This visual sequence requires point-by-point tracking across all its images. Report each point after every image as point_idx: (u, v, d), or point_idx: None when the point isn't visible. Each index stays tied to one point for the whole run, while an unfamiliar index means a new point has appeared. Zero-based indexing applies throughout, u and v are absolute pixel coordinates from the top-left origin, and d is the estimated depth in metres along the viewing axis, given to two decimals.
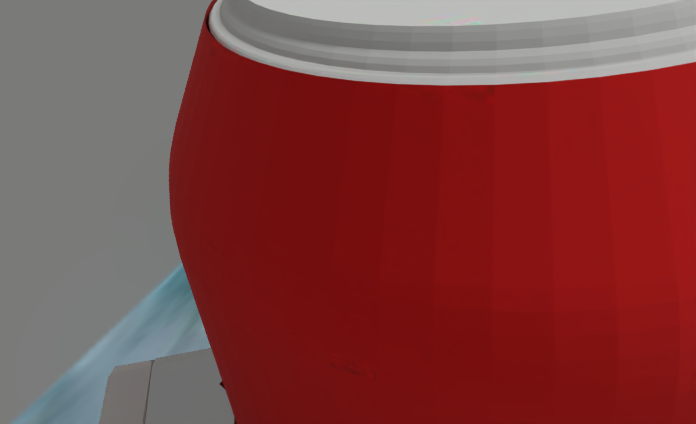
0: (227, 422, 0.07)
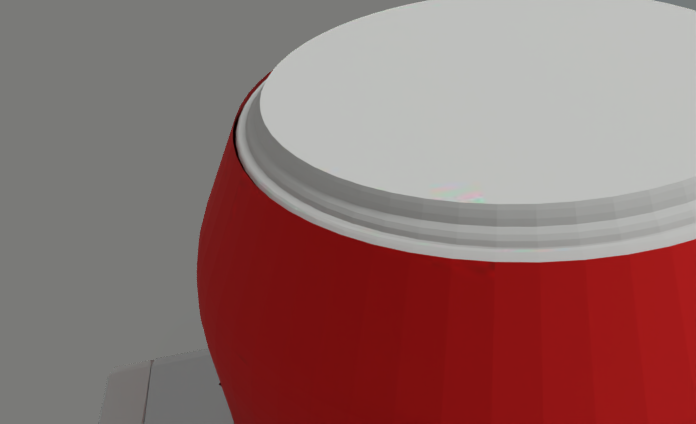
0: (226, 422, 0.07)
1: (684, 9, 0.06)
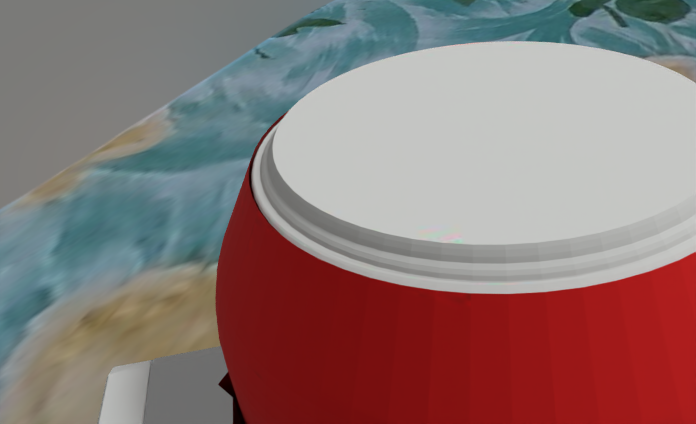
0: (226, 422, 0.07)
1: (648, 63, 0.07)
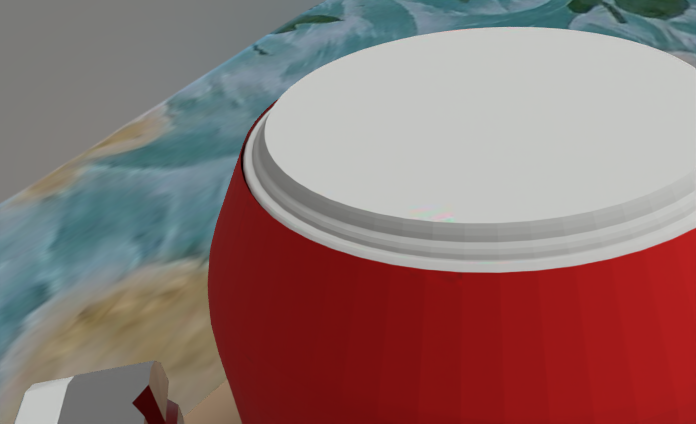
0: None
1: (644, 47, 0.07)
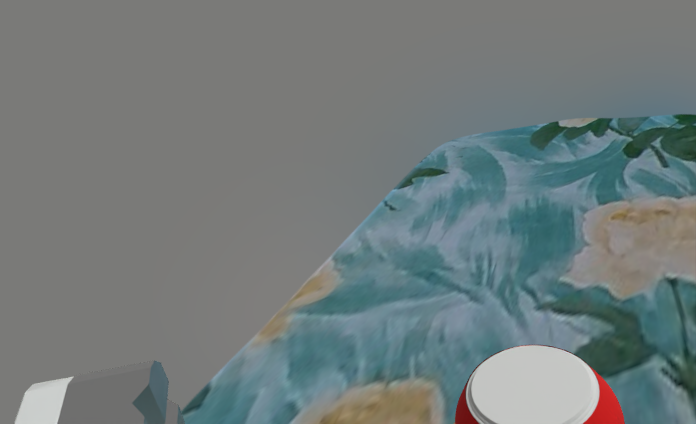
0: None
1: (577, 361, 0.23)
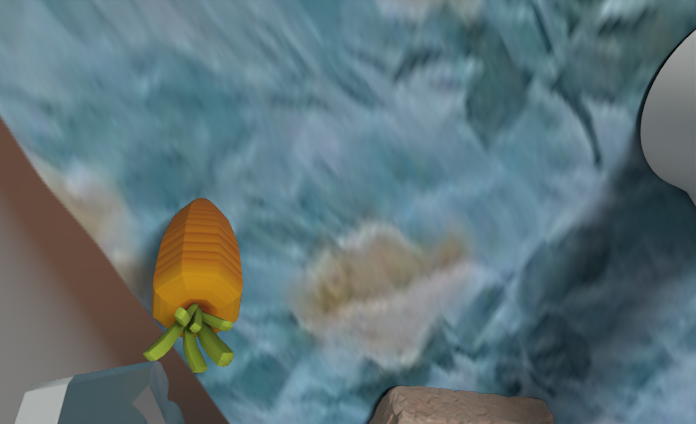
0: None
1: None
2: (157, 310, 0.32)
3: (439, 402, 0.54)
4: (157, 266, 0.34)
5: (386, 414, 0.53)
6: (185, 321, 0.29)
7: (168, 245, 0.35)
